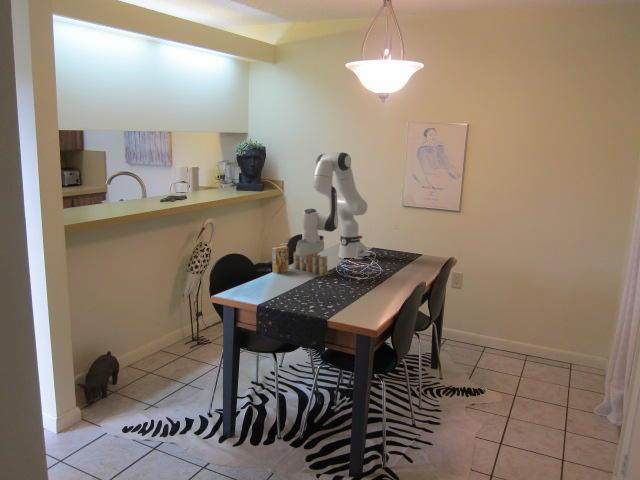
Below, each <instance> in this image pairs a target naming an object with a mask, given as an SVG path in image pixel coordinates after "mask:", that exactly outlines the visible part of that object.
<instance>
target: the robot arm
mask: <svg viewBox="0 0 640 480" xmlns="http://www.w3.org/2000/svg"><path fill="white" fill-rule="evenodd" d="M315 162H316V163H315V169H314V174H313V179H312V185H313V189H315V191H316V192H318V193H319V194H322V195H324V196H325V197H327V199H328V213H318V212H317V211H318V210H317V209H316V208H307V209H304V210H303V213H302V220H301V223H302V224H301V225H302V233H301V235H302V237H301V239H298V241H297V242H296V247H295V252H296V255H297V256H298V257H302V258H303V260H304V263H308V260H307V259H306V257H307V255H310V254H314V256H315V255H319V253H321V252H324V250H325V241H324V239H325V236H324V235H322V234H319V231H324V232H330V233H332V232H334V231H336V230H337V229H338V226H339V222H340V237H339V241H340V243H339V249H338V252H337V257H338V258H340V259H342V260H345V259H344V258H354V259H353V260H363V259H364V258H362V257H358V256H367V257H370V256H371V253H369V252H367V245H365V244H364V243H363V242H362V241H361V240H362V239H363V235H359V223H358V221H356V219H355V216H362V215H363V216H364V215H365V214H366V213H367V210H368V202H367V201H366V200H365V199H363V197H362V196H361V194H360V193H359V191H358V190H357V186H356V184H355V179H354V176H353V175H354V173H353V170H352V157H351V155H349V154H348V153H347V152H330V153H322V154H319V155H318V156H317V158H316V160H315ZM333 176H334V177H333ZM333 178H335V183H336V187H337V188H336V187H335V186H333ZM337 191H338V193H340V194H341V195H342V196H338V195H337ZM355 257H356V258H355Z"/></svg>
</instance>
